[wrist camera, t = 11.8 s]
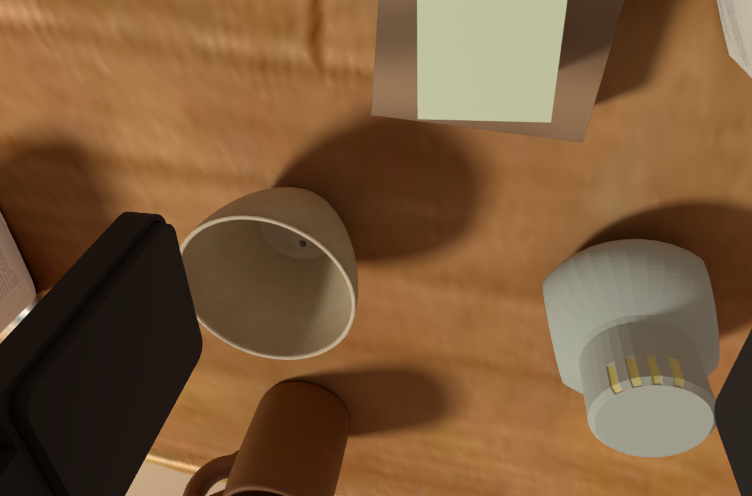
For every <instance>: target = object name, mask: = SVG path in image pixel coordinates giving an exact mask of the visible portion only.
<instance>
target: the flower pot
mask: <svg viewBox="0 0 752 496" xmlns="http://www.w3.org/2000/svg"><path fill="white" fill-rule="evenodd" d="M304 241H305V243H306V244H304ZM180 252H181V256H182V260H183V264H184V268H185V272H186V276H187V280H188V284H189V288H190V292H191V296H192V300H193V304H194V308H195V312H196V316H197V320H198V321H199V322H200V323H201V324H202V325H203V326H204V327H206V328H207V329H208V330H209V331H210V332H212V333H213V334H214V335H215V336H217V337H218V338H220V339H221V340H223V341H224V342H226V343H228V344H230V345H231V346H234V347H236V348H238V349H240V350H243V351H245V352H248V353H251V354H254V355H257V356H261V357H267V358H272V359H283V360H295V359H304V358H309V357H313V356H317V355H319V354H322V353H324V352H326V351H328V350H330V349H332V348H333V347H335V346H336V345H337V344H339V343H340V342H341V341H342V340H343V339H344V338H345V337H346V335H347V334H348V332H349V330H350V329H351V327H352V324H353V322H354V319H355V314H356V307H357V298H358V278H357V266H356V260H355V255H354V251H353V247H352V244H351V241H350V238H349V235H348V233H347V230H346V228H345V226H344V224H343V222H342V220H341V219H340V217H339V215H338V214H337V213H336V211H335V210H334V209H333V207H332V206H331V205H330V204H329V203H328V202H327V201H326V200H325V199H323V198H322V197H321V196H319V195H318V194H316V193H314V192H312V191H309V190H306V189H302V188H296V187H278V188H271V189H266V190H262V191H258V192H255V193H252V194H249V195H246V196H244V197H241V198H239V199H237V200H235V201H233V202H231V203H229V204H227V205H226V206H224V207H222V208H221V209H219V210H218V211H216V212H215V213H213V214H212V215H211V216H209V217H208V218H207V219H205V220H204V221H203V222H202V223H201V224H199V225H198V226H197V227H196V228H195V229H194V230H193V231H192V232H191V233H190V234H189V235H188V236H187V237H186V239H185V240H184V241H183V243H182V245H181V246H180Z"/></svg>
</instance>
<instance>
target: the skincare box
mask: <svg viewBox="0 0 752 496" xmlns="http://www.w3.org/2000/svg"><path fill="white" fill-rule="evenodd" d="M717 4H718V9H719V14H720V18H721V23H722V28H723V32H724V36H725V40H726V44H727V48H728V52H729V55H730V56H731V57H732V58H733V59H734V60H735V61H736V62H737V63H738V64H739V65H740V66H741V67H742V68H743V69H744V70H745V72H746V73H747V74H748V75H749V76H750V77H751V78H752V0H717Z"/></svg>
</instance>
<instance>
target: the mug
mask: <svg viewBox="0 0 752 496" xmlns="http://www.w3.org/2000/svg"><path fill="white" fill-rule="evenodd" d="M349 428H350V418H349V414H348V411H347V409H346V407H345V406H344V404H343V403H342V402H341V400H340V399H339V398H338V397H336V396H335V395H334V394H333V393H331V392H329V391H328V390H326V389H324V388H322V387H319V386H317V385H313V384H310V383H305V382H286V383H282V384H278V385H276V386H274V387H273V388H271V389H270V390H268V391H267V392H266V393H265V395H264V396H263V397H262V399H261V401H260V403H259V405H258V407H257V409H256V412H255V414H254V417H253V419H252V421H251V424H250V426H249V428H248V431H247V433H246V435H245V438H244V440H243V443H242V445H241V447H240V450H238V451H236V452H235V453H233V454H231V455H227V456H222V457H218V458H216V459H214V460H212V461H210V462H208V463H207V464H205V465H204V466H203V467H201V468H200V469H199V470H198V471H197V472H196V473H195V474H194V476H193V477H192V478H191V480H190V481H189V483H188V484H187V486H186V488H185V491H184V494H183V496H205V495H206V494H207V492H208V491H209V489H210V488H211V487H212V486H213V485H214V484H215V483H217V482H218V481H220V480H222V479H226V478H228V480H227V484H226V487H225V489H224V490H222V491H219V492H217V493H215V494H212V495H210V496H334V494H335V490H336V486H337V482H338V478H339V473H340V469H341V465H342V460H343V456H344V451H345V447H346V443H347V439H348V434H349Z"/></svg>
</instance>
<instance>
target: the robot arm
mask: <svg viewBox="0 0 752 496" xmlns="http://www.w3.org/2000/svg"><path fill="white" fill-rule="evenodd" d="M201 352H202V336H201V332H200V328H199V324H198V320H197V316H196V312H195V308H194V304H193V300H192V296H191V292H190V288H189V284H188V280H187V276H186V272H185V268H184V264H183V260H182V256H181V252H180V248H179V244H178V240H177V236H176V232H175V229H174V227H173V226H172V225H170V224H166V221H165V219H164V218H163V217H162V216H161V215H159V214H150V213H138V212H124V213H122V214H121V215H120V216H119V217H118V218H117V219H116V220H115V221H114V222H113V223H112V224H111V225H110V226H109V228H108V229H107V230H106V231H105V232H104V233H103V234H102V235H101V236H100V237H99V238H98V239H97V240H96V242H95V243H94V244H93V245H92V246H91V247H90V248H89V249H88V250H87V251H86V252H85V253H84V254H83V256H82V257H81V258H80V259H79V260H78V261H77V262H76V263H75V264H74V265H73V266H72V267H71V268H70V269H69V271H68V272H67V273H66V274H65V275H64V276H63V277H62V278H61V279H60V280H59V281H58V282H57V283H56V285H55V286H54V287H53V288H52V289H51V290H50V291H49V292H48V293H47V294H46V295H45V296H44V297H43V299H42V300H41V301H40V302H39V303H38V304H37V305H36V306H35V307H34V308H33V309H32V310H31V311H30V312H29V314H28V315H27V316H26V317H25V318H24V319H23V320H22V321H21V322H20V323H19V324H18V325H17V326H16V328H15V329H14V330H13V331H12V332H11V333H10V334H9V335H8V336H7V337H6V338H5V339H4V340H3V342H2V343H1V344H0V496H125V494H126V493H127V491H128V489H129V487H130V485H131V484H132V482H133V480H134V478H135V476H136V474H137V473H138V471H139V469H140V467H141V465H142V463H143V461H144V460H145V458H146V456H147V454H148V452H149V450H150V449H151V447H152V445H153V443H154V441H155V439H156V438H157V436H158V434H159V432H160V430H161V428H162V427H163V425H164V423H165V421H166V419H167V417H168V416H169V414H170V412H171V410H172V408H173V406H174V404H175V403H176V401H177V399H178V397H179V395H180V393H181V392H182V390H183V388H184V386H185V384H186V382H187V381H188V379H189V377H190V375H191V373H192V371H193V370H194V368H195V366H196V364H197V362H198V360H199V358H200V355H201ZM714 416H715V422H716V426H717V428H718V431H719V434H720V437H721V440H722V443H723V445H724V448H725V451H726V454H727V457H728V460H729V462H730V465H731V468H732V471H733V474H734V477H735V480H736V482H737V485H738V488H739V491H740V494H741V496H752V329H751V331H750V333H749V335H748V337H747V339H746V341H745V343H744V345H743V347H742V349H741V351H740V353H739V355H738V357H737V359H736V361H735V363H734V365H733V367H732V369H731V371H730V373H729V375H728V377H727V379H726V381H725V383H724V385H723V387H722V389H721V391H720V393H719V395H718V397H717V399H716V402H715V407H714Z"/></svg>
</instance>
